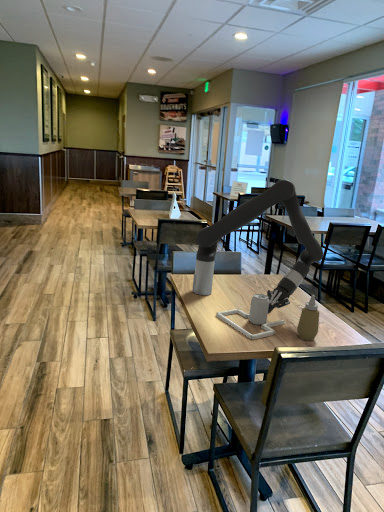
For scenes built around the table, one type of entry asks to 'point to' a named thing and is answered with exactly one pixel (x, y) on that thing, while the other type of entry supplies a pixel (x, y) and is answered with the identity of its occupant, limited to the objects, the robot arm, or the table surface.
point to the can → (259, 309)
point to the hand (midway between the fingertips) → (266, 312)
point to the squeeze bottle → (309, 321)
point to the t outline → (264, 326)
